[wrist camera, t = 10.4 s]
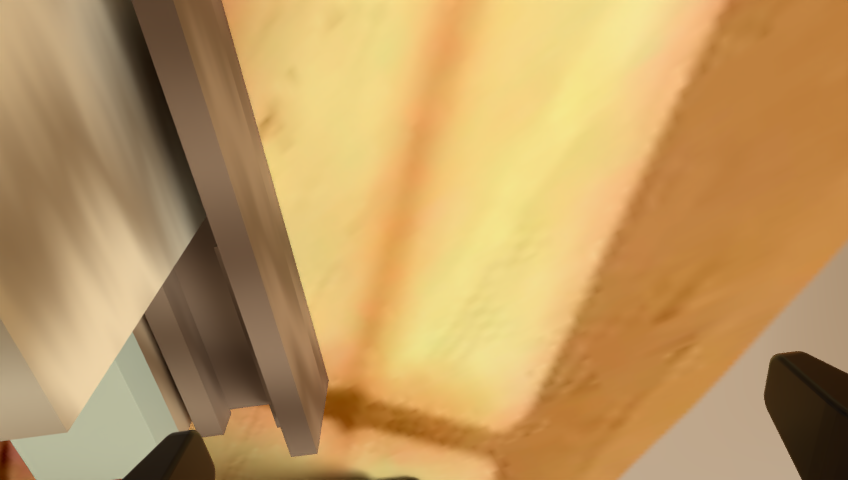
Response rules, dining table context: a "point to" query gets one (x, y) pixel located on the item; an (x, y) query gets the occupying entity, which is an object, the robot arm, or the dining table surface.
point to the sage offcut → (106, 426)
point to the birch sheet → (80, 202)
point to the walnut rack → (229, 244)
